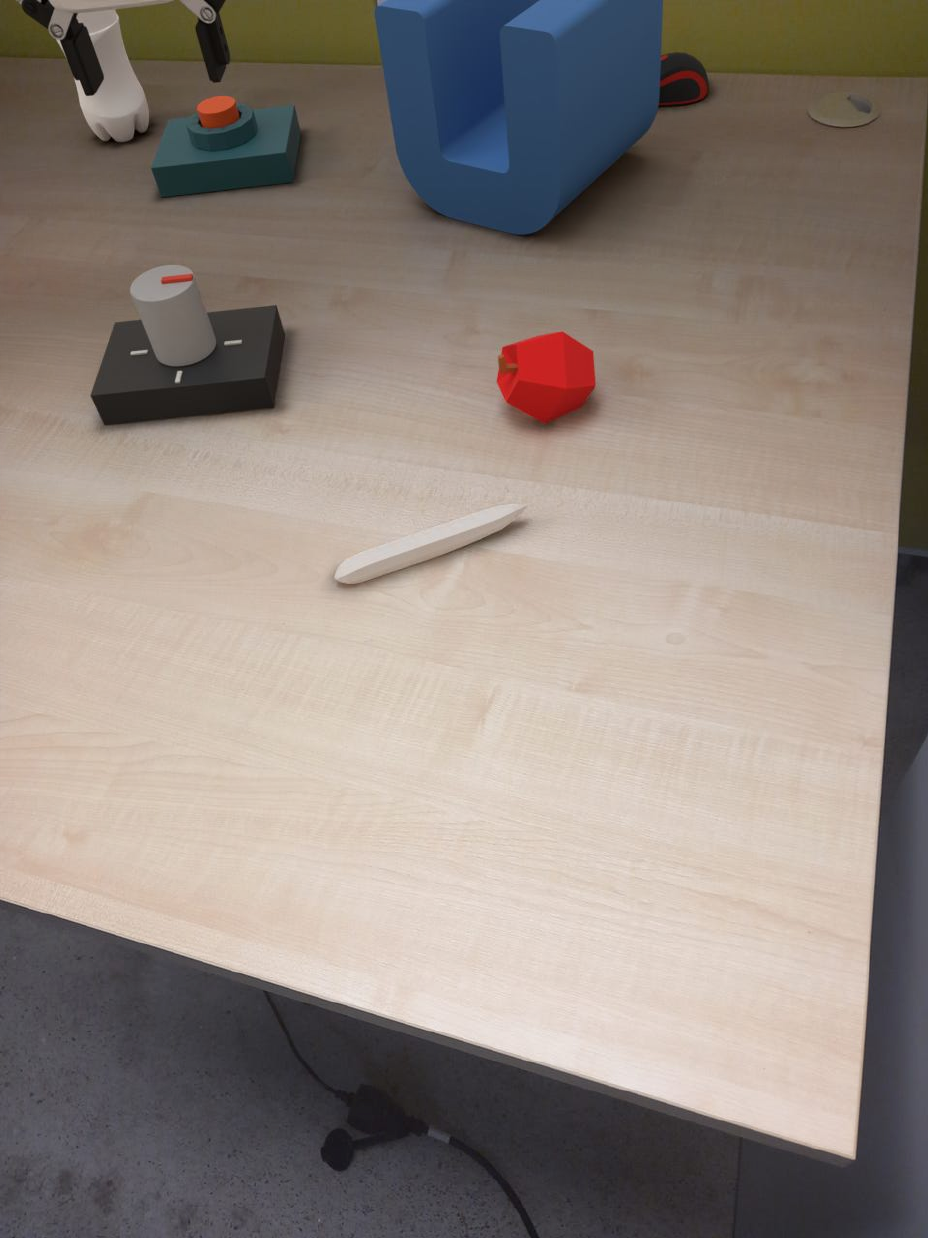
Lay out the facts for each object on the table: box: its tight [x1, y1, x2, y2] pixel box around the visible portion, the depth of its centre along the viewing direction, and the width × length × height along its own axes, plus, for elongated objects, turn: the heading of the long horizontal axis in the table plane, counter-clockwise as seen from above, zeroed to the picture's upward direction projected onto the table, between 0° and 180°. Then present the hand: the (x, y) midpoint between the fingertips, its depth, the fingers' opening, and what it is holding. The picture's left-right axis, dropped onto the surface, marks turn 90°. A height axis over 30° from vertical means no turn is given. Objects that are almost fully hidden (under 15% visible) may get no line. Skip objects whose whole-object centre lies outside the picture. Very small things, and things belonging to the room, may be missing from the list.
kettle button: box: [196, 95, 240, 129], centre depth 106 cm, size 4×4×2 cm
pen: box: [334, 503, 528, 585], centre depth 69 cm, size 2×14×2 cm, turn 111°
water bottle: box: [55, 9, 150, 143], centre depth 108 cm, size 7×7×25 cm
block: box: [374, 0, 664, 236], centre depth 94 cm, size 18×18×18 cm
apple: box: [496, 331, 597, 425], centre depth 76 cm, size 7×7×8 cm
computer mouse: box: [658, 51, 710, 108], centre depth 108 cm, size 6×11×4 cm, turn 96°
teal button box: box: [150, 102, 302, 198], centre depth 108 cm, size 14×11×5 cm
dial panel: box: [90, 304, 286, 426], centre depth 84 cm, size 14×10×3 cm
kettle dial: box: [129, 264, 216, 366], centre depth 81 cm, size 5×5×6 cm
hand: (157, 81), depth 77 cm, fingers open, 9 cm apart
